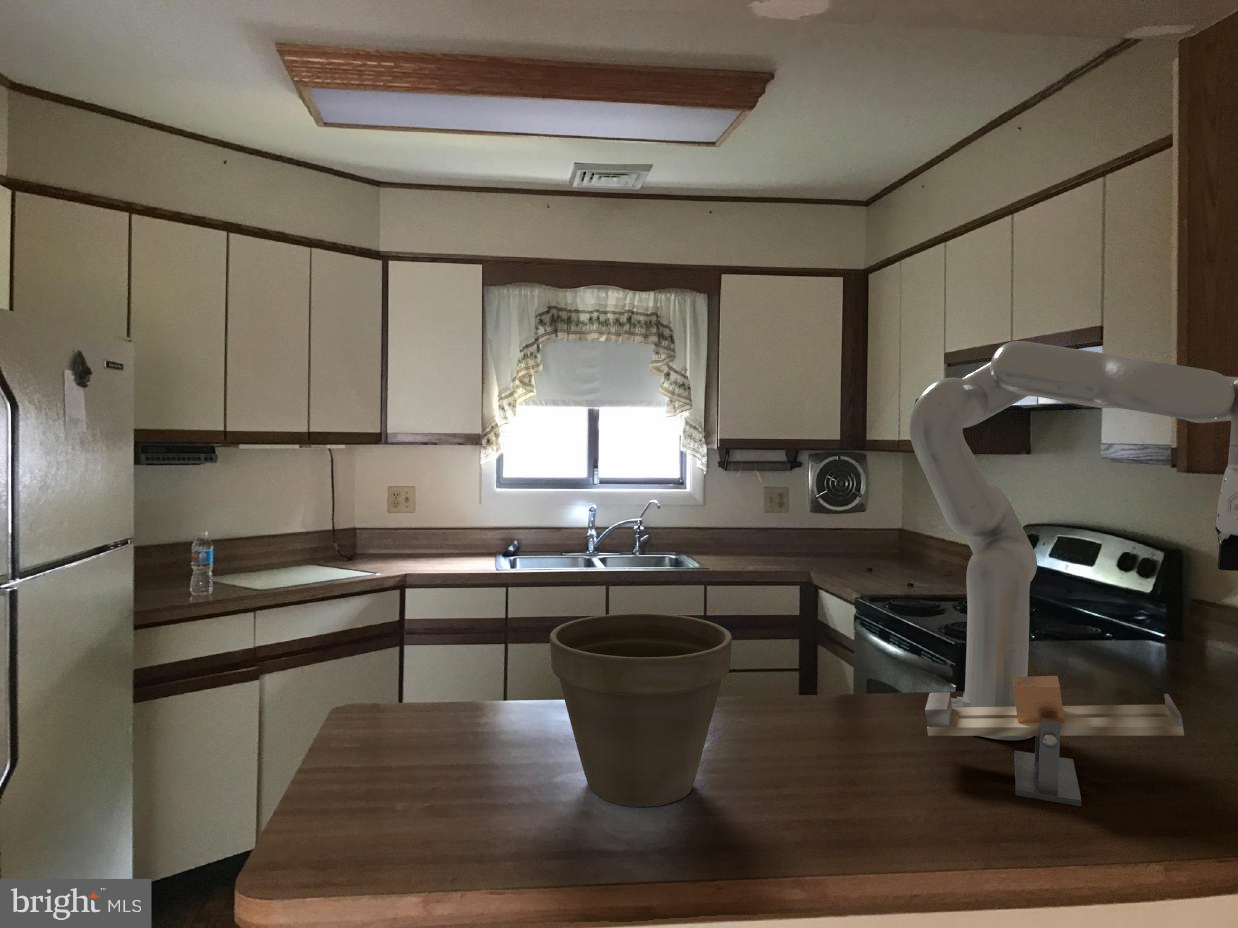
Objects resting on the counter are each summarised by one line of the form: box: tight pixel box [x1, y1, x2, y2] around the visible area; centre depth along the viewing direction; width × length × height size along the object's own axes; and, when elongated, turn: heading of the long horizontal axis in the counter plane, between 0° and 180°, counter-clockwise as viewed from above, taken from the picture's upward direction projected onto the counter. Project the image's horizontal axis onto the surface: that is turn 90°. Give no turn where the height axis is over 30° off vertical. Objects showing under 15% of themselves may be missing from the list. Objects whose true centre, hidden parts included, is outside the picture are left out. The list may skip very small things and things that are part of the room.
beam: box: [924, 691, 1185, 737], centre depth 125 cm, size 32×10×4 cm, turn 66°
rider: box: [1013, 675, 1065, 723], centre depth 126 cm, size 6×6×6 cm
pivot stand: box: [1014, 718, 1083, 807], centre depth 125 cm, size 8×16×10 cm, turn 156°
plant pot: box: [549, 612, 733, 808], centre depth 121 cm, size 25×25×22 cm
